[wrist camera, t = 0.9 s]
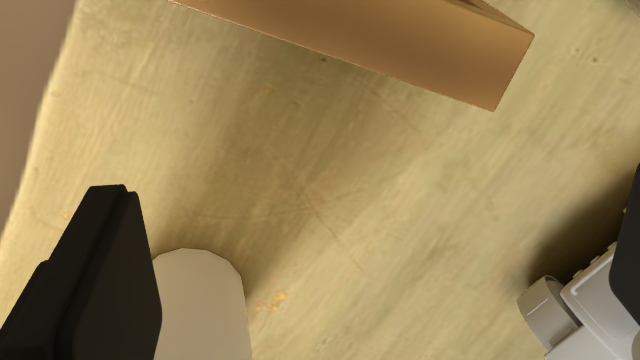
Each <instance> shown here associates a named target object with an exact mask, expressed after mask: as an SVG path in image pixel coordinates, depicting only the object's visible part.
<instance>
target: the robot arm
mask: <svg viewBox="0 0 640 360" xmlns="http://www.w3.org/2000/svg"><path fill="white" fill-rule="evenodd" d="M609 285H610V288H611V290H612V292H613V294H614V295H615V296H616V297H617V299H618V300H619V301H620V303H621V304H622V305H623V306H624V308H625V309H626V310H627V311H628V313H629V314H630V315H631V316H632V318H633V319H634V320H635V321H636V323H637V324H638V325H639V326H640V163H639V164H638V167H637V169H636V173H635V177H634V181H633V185H632V188H631V192H630V196H629V200H628V203H627V207H626V211H625V215H624V218H623V222H622V226H621V230H620V233H619V237H618V241H617V245H616V248H615V252H614V256H613V260H612V263H611V267H610V271H609ZM161 326H162V305H161V300H160V296H159V291H158V286H157V281H156V277H155V272H154V267H153V263H152V258H151V253H150V248H149V244H148V239H147V234H146V229H145V225H144V220H143V215H142V211H141V206H140V201H139V197H138V194H137V193H136V192H135V191H133V192H128V191H127V189H126V187H125V186H124V185H123V184H119V185H103V186H91V187H90V188H89V189H88V190H87V192H86V194H85V196H84V197H83V199H82V201H81V203H80V205H79V206H78V208H77V210H76V212H75V213H74V215H73V217H72V219H71V221H70V222H69V224H68V226H67V228H66V229H65V231H64V233H63V235H62V236H61V238H60V240H59V242H58V244H57V245H56V247H55V249H54V251H53V252H52V254H51V256H50V258H49V259H48V260H45V261H43V262H41V263H40V264H39V265H38V266H37V268H36V269H35V271H34V273H33V274H32V276H31V278H30V280H29V281H28V283H27V285H26V286H25V288H24V290H23V292H22V293H21V295H20V297H19V298H18V300H17V302H16V304H15V305H14V307H13V309H12V310H11V312H10V314H9V316H8V317H7V319H6V321H5V322H4V324H3V326H2V328H1V329H0V360H154V355H155V351H156V347H157V343H158V339H159V334H160V330H161Z"/></svg>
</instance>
